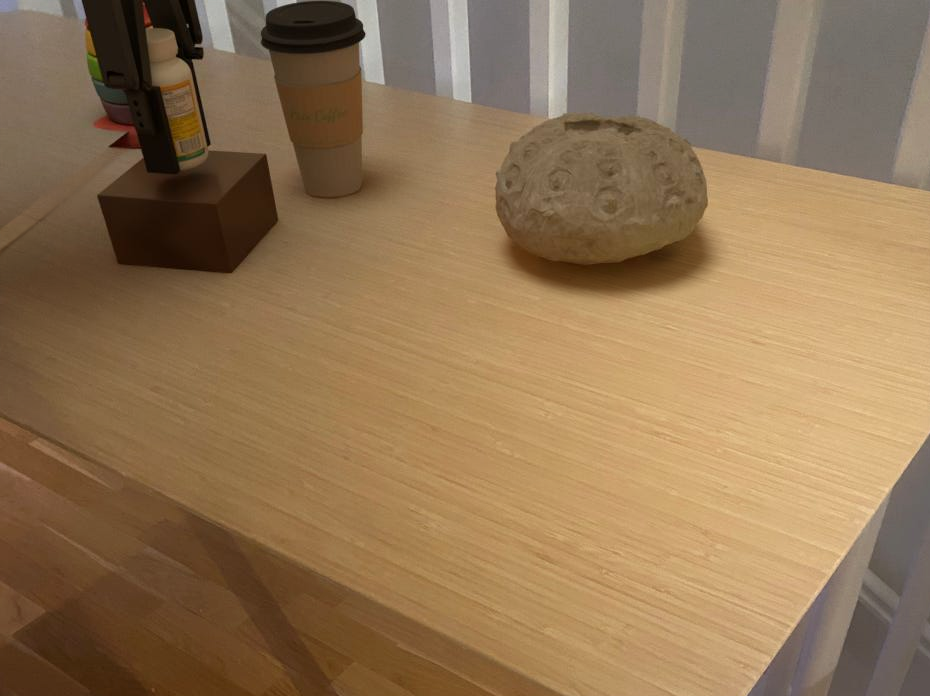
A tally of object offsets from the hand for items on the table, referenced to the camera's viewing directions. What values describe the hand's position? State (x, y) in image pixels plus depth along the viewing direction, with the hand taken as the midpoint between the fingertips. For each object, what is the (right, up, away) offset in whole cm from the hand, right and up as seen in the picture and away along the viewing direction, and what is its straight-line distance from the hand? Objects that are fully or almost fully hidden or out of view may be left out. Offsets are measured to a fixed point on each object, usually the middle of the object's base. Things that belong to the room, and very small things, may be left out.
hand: (179, 157), depth 85 cm
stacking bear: (-11, +15, +26) cm, 32 cm away
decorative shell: (+36, -7, +2) cm, 37 cm away
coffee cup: (+11, +3, +13) cm, 18 cm away
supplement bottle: (0, 0, 0) cm, 1 cm away
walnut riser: (0, -5, +5) cm, 7 cm away
